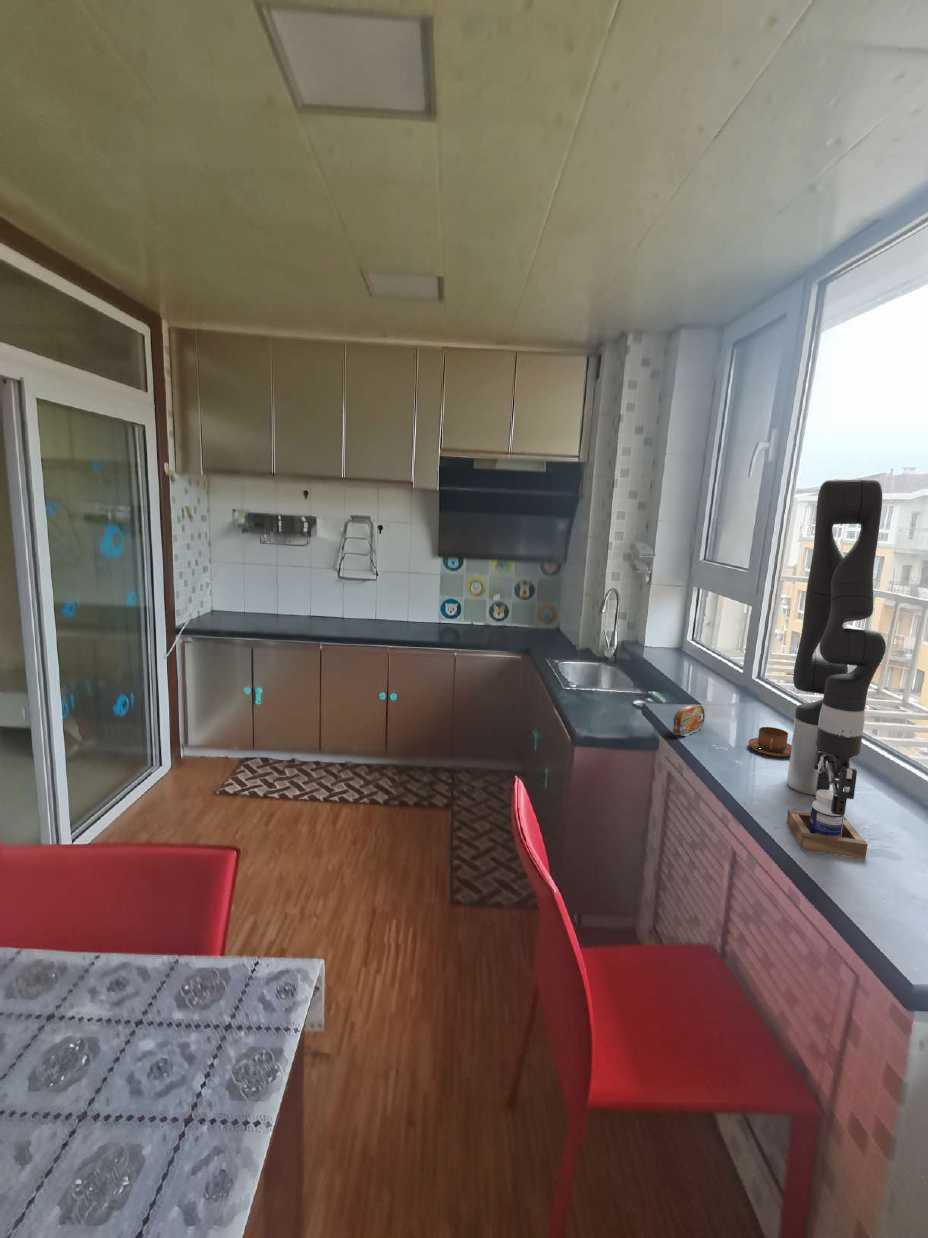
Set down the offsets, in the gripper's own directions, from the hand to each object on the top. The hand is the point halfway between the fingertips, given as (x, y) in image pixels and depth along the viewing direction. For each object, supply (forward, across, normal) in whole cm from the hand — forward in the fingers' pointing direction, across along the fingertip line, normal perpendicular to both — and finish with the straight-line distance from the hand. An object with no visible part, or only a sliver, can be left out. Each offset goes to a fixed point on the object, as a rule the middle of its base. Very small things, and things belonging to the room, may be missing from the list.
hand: (829, 803), depth 120 cm
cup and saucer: (+9, -50, +3) cm, 50 cm away
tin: (+9, -58, -19) cm, 62 cm away
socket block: (+8, 0, 0) cm, 8 cm away
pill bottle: (+8, 0, 0) cm, 8 cm away
